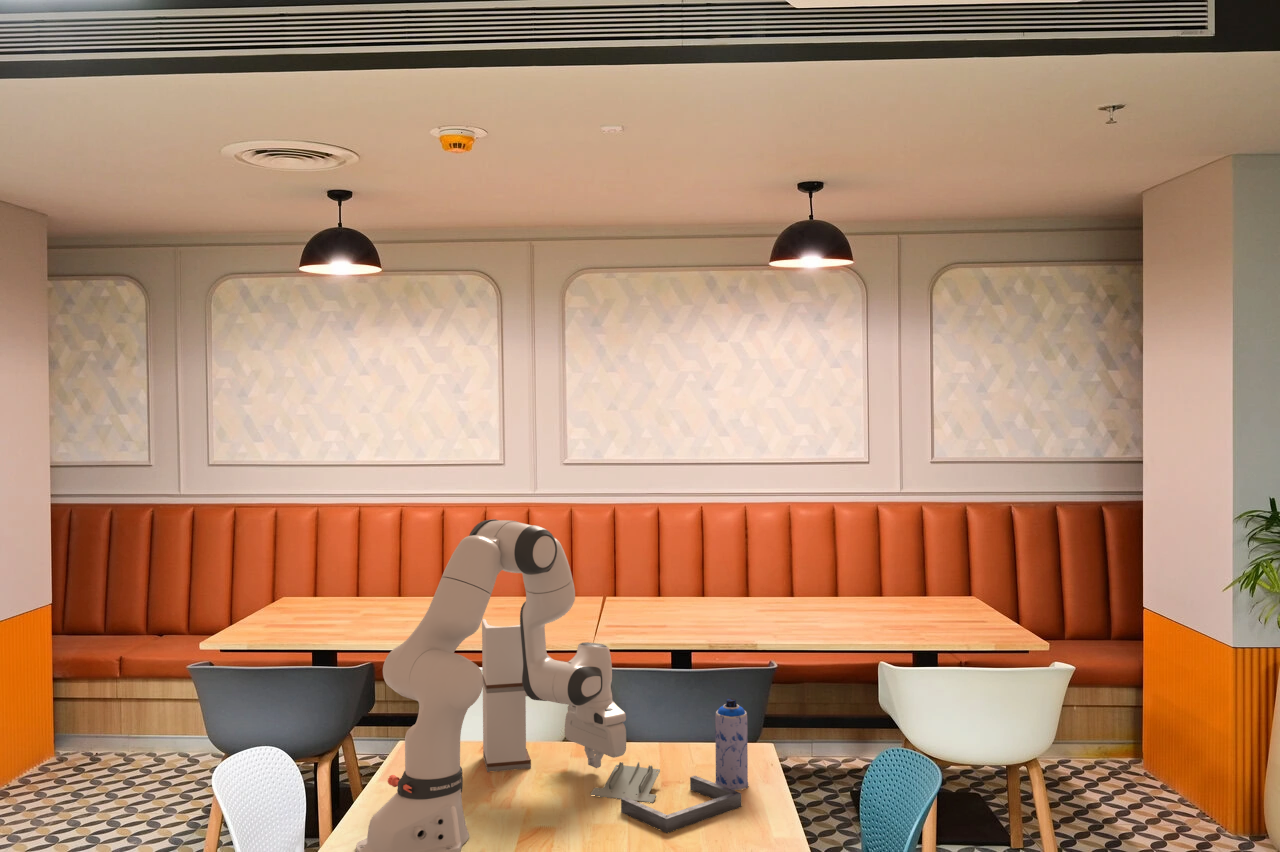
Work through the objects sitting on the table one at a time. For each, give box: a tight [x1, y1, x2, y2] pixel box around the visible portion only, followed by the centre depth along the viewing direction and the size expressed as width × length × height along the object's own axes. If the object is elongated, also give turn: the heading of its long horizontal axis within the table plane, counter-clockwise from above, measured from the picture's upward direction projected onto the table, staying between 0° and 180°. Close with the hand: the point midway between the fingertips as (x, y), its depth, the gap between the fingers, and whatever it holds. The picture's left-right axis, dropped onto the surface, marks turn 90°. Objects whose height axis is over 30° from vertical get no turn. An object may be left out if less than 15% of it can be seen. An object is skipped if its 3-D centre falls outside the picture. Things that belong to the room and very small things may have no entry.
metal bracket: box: [590, 761, 661, 804], centre depth 241 cm, size 14×6×15 cm
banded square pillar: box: [481, 618, 532, 773], centre depth 261 cm, size 11×11×35 cm
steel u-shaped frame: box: [620, 775, 743, 834], centre depth 229 cm, size 22×15×3 cm
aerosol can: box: [714, 698, 750, 791], centre depth 244 cm, size 8×8×20 cm
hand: (594, 766), depth 253 cm, fingers closed
